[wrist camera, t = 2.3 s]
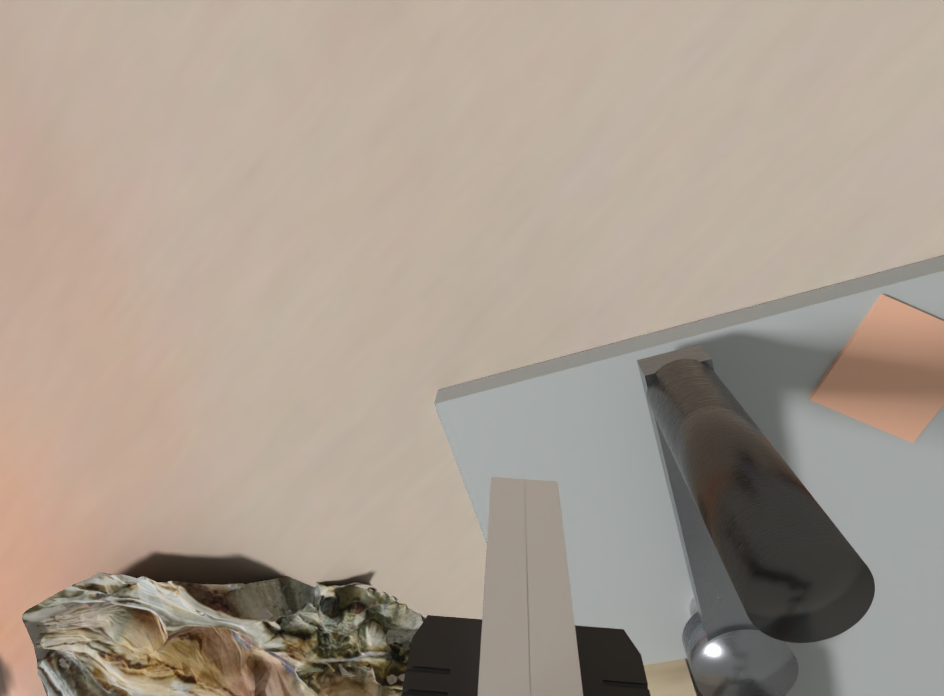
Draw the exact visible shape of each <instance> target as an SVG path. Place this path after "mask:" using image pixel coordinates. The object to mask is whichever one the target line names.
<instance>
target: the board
mask: <svg viewBox="0 0 944 696" xmlns="http://www.w3.org/2000/svg"><path fill="white" fill-rule="evenodd" d="M881 294H883V295H885V296H888V297H890V298H892V299H895V300H897V301H899V302H901V303H904V304H906V305H908V306H910V307H913V308H915V309H917V310H920V311H922V312H924V313H926V314H929V315H931V316H933V317H936V318H938V319H940V320H942V321H944V256H940V257H936V258H932V259H928V260H925V261H921V262H917V263H913V264H910V265H906V266H902V267H898V268H895V269H891V270H887V271H883V272H880V273H876V274H872V275H868V276H865V277H861V278H857V279H853V280H850V281H846V282H842V283H838V284H834V285H831V286H827V287H823V288H819V289H816V290H812V291H808V292H804V293H801V294H797V295H793V296H789V297H786V298H782V299H778V300H774V301H771V302H767V303H763V304H759V305H756V306H752V307H748V308H744V309H740V310H737V311H733V312H729V313H725V314H722V315H718V316H714V317H710V318H707V319H703V320H699V321H695V322H692V323H688V324H684V325H680V326H677V327H673V328H669V329H665V330H662V331H658V332H654V333H650V334H646V335H643V336H639V337H635V338H631V339H628V340H624V341H620V342H616V343H613V344H609V345H605V346H601V347H598V348H594V349H590V350H586V351H583V352H579V353H575V354H571V355H568V356H564V357H560V358H556V359H552V360H549V361H545V362H541V363H537V364H534V365H530V366H526V367H522V368H519V369H515V370H511V371H507V372H504V373H500V374H496V375H492V376H489V377H485V378H481V379H477V380H474V381H470V382H466V383H462V384H458V385H455V386H451V387H447V388H443V389H440V390H438V393H437V396H436V400H435V403H434V405H435V407H436V410H437V413H438V415H439V418H440V421H441V423H442V426H443V429H444V431H445V434H446V437H447V439H448V442H449V445H450V447H451V450H452V453H453V455H454V458H455V461H456V463H457V466H458V468H459V471H460V474H461V476H462V479H463V482H464V484H465V487H466V490H467V492H468V495H469V498H470V500H471V503H472V506H473V508H474V511H475V514H476V516H477V519H478V522H479V524H480V527H481V530H482V532H483V535H484V537H485V540H486V543H487V535H488V518H489V502H490V486H491V477H500V478H514V479H529V480H543V481H558V488H559V496H560V505H561V513H562V521H563V530H564V538H565V547H566V555H567V563H568V572H569V580H570V589H571V597H572V605H573V614H574V622H575V625H577V626H589V627H602V628H614V629H624V631H625V632H626V634H627V635H628V636H629V638H630V639H631V641H632V642H633V644H634V645H635V647H636V648H637V650H638V651H639V653H640V654H641V657H642V661H643V665H649V664H655V663H661V662H667V661H672V660H678V659H684V658H685V660H686V664H687V667H688V670H689V673H690V676H691V680H692V683H693V686H694V689H695V692H696V695H697V696H703V695H702V694H701V693H700V691H699V690H698V688H697V686H696V684H695V681H694V678H693V674H692V671H691V668H690V665H689V662H688V659H687V656H686V652H685V649H684V646H683V642H682V634H683V630H684V627H685V625H686V623H687V622H688V620H689V619H690V618H691V615H690V611H689V605H690V602H691V600H692V598H693V597H694V594H693V590H692V586H691V582H690V578H689V574H688V570H687V565H686V561H685V557H684V553H683V549H682V545H681V541H680V537H679V532H678V528H677V524H676V520H675V516H674V512H673V508H672V503H671V499H670V495H669V491H668V487H667V483H666V479H665V475H664V470H663V466H662V462H661V458H660V454H659V450H658V446H657V442H656V437H655V433H654V429H653V425H652V421H651V417H650V413H649V409H648V404H647V400H646V396H645V392H644V388H643V384H642V380H641V376H640V371H639V367H638V363H637V360H640V359H644V358H647V357H651V356H655V355H659V354H663V353H667V352H671V351H674V350H678V349H682V348H686V347H690V346H694V345H698V344H700V345H701V346H702V347H703V349H704V350H705V351H706V352H707V354H708V355H709V356H710V357H711V358H712V362H713V367H714V372H715V373H716V374H717V375H718V377H719V378H720V379H721V380H722V382H723V383H724V384H725V386H726V387H727V388H728V389H729V391H730V392H731V393H732V394H733V396H734V397H735V398H736V400H737V401H738V402H739V403H740V405H741V406H742V407H743V408H744V410H745V411H746V412H747V414H748V415H749V416H750V417H751V419H752V420H753V421H754V422H755V424H756V425H757V426H758V428H759V429H760V430H761V431H762V433H763V434H764V435H765V436H766V438H767V439H768V440H769V442H770V443H771V444H772V445H773V447H774V448H775V449H776V450H777V452H778V453H779V454H780V456H781V457H782V458H783V459H784V461H785V462H786V463H787V464H788V466H789V467H790V468H791V470H792V471H793V472H794V473H795V475H796V476H797V477H798V478H799V480H800V481H801V482H802V484H803V485H804V486H805V487H806V489H807V490H808V491H809V492H810V494H811V495H812V496H813V498H814V499H815V500H816V501H817V503H818V504H819V505H820V506H821V508H822V509H823V510H824V512H825V513H826V514H827V515H828V517H829V518H830V519H831V520H832V522H833V523H834V524H835V526H836V527H837V528H838V529H839V531H840V532H841V533H842V534H843V536H844V537H845V538H846V540H847V541H848V542H849V543H850V545H851V546H852V547H853V548H854V550H855V551H856V552H857V554H858V555H859V556H860V557H861V559H862V560H863V561H864V562H865V564H866V565H867V566H868V568H869V569H870V571H871V573H872V575H873V578H874V583H875V593H874V598H873V601H872V604H871V606H870V608H869V610H868V611H867V613H866V614H865V615H864V616H863V618H862V619H861V620H860V621H859V622H858V623H856V624H855V625H854V626H853V627H851V628H850V629H848V630H847V631H845V632H843V633H841V634H839V635H837V636H835V637H832V638H829V639H826V640H822V641H818V642H811V643H791V642H788V644H789V645H790V647H791V649H792V651H793V653H794V655H795V657H796V659H797V662H798V668H799V671H798V677H797V680H796V682H795V684H794V685H793V687H792V688H791V689H790V691H789V692H788V693H787V694H786V696H944V405H943V407H942V408H941V409H940V410H939V411H938V413H937V414H936V415H935V416H934V418H933V419H932V420H931V421H930V423H929V424H928V425H927V426H926V428H925V429H924V430H923V431H922V433H921V434H920V435H919V436H918V438H917V439H916V440H915V441H914V442H913V443H911V442H909V441H906V440H904V439H902V438H899V437H897V436H894V435H892V434H890V433H887V432H885V431H882V430H880V429H878V428H875V427H873V426H871V425H868V424H866V423H863V422H861V421H859V420H856V419H854V418H851V417H849V416H847V415H844V414H842V413H839V412H837V411H835V410H832V409H830V408H827V407H825V406H823V405H820V404H818V403H816V402H813V401H811V400H809V399H808V397H809V396H810V395H811V393H812V392H813V390H814V389H815V387H816V386H817V385H818V383H819V382H820V380H821V379H822V378H823V376H824V375H825V373H826V372H827V370H828V369H829V368H830V366H831V365H832V363H833V362H834V360H835V359H836V358H837V356H838V355H839V353H840V352H841V350H842V349H843V348H844V346H845V345H846V343H847V342H848V341H849V339H850V338H851V336H852V335H853V333H854V332H855V331H856V329H857V328H858V326H859V325H860V323H861V322H862V321H863V319H864V318H865V316H866V315H867V313H868V312H869V311H870V309H871V308H872V306H873V305H874V304H875V302H876V301H877V299H878V298H879V296H880V295H881Z"/></svg>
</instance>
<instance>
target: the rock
mask: <svg viewBox="0 0 944 696" xmlns="http://www.w3.org/2000/svg"><path fill="white" fill-rule="evenodd" d="M360 584H364V583H360V582H353V583H350V584H347V585H342V586H337V585H335V586H325V585H323V584H319V583H317V587H312V586H309V585H307V584H305V583H302V582H300V581H297V580H294V579H292V578H289V577H287V576H285V577H281V578H276V579H271V580H265V581H259V582H254V583H249V584H243V583H239V584H225V585H218V584H197V583H190V582H180V581H173V580H172V581H168V582H156V581H154V580H152V579H149V578H147V577H145V576H141V577H139V578H134V577H131V576H127V575H121V574H118V575H111V574H107V573H97V574H95V575H93V576H92V577H90V578H89V579H87V580H85V581H82V582H79V583H77V584H74V585H72V586H70V587H68V588H66V589H64V590H63V591H61V592H59V593H57V594H55V595H53V596H51V597H50V598H48V599H46V600H44V601H43V602H41V603H39V604H38V605H36V606H34V607H32V608H30V609H29V610H27V611H26V612H25V613H24V614H23V615H22V620H23V622H24V624H25V626H26V628H27V631H28V633H29V635H30V638H31V640H32V642H33V644H34V649H35V653H36V658H37V667H38V675H39V676H40V678H41V680H42V683H43V685H44V689H45V692H46V693H47V696H401V694H402V688H403V683H404V678H405V672H406V669H407V662H408V657H409V652H410V646H411V641H412V637H413V636H414V634H415V633H416V632H417V630H418V629H419V627H420V626H421V625H422V623H423V621H422V617H421V614H419V613H416V612H415V611H413V610H411V609H409V608H407V606H406V604H399V603H398V602H397V601H396V599H395V598H394V597H393V596H391V597H389V596H388V595H387V594H386V593H384V592H382V593H379V592H376V591H375V590H373V589H371V588H368V589H367V590H366V589H363V588H359V587H354V586H352V585H360ZM365 585H368V584H365Z"/></svg>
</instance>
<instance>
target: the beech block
mask: <svg viewBox="0 0 944 696" xmlns="http://www.w3.org/2000/svg"><path fill="white" fill-rule="evenodd" d="M644 670H645V674H646V678H647V682H648V689H649V691H650V695H651V696H697V695H696V692H695V689H694V686H693V683H692V680H691V676H690V673H689V670H688V667H687V664H686V660H685V658H684V659H678V660H672V661H667V662H661V663H655V664H649V665H644Z"/></svg>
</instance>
